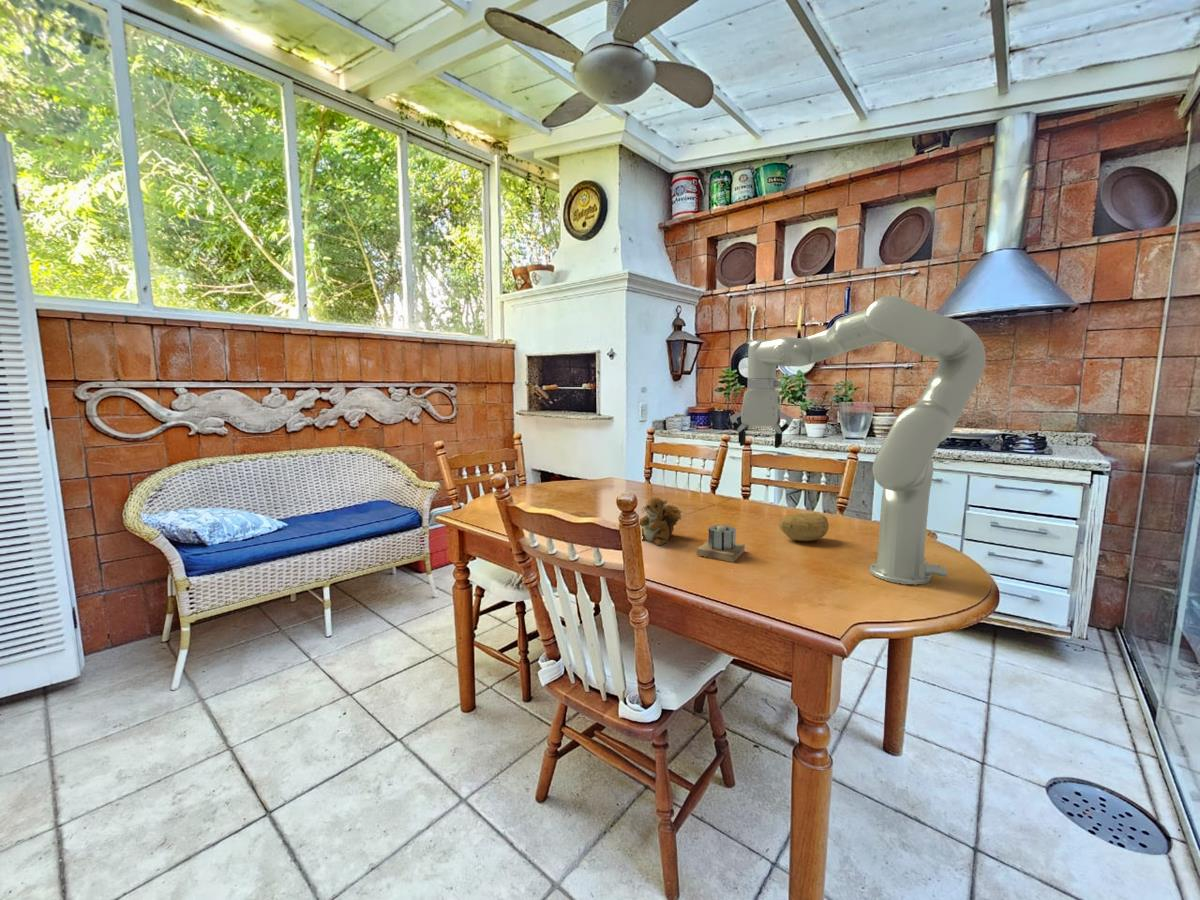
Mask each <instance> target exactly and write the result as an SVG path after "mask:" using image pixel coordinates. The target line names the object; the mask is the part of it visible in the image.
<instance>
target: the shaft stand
mask: <svg viewBox="0 0 1200 900" xmlns="http://www.w3.org/2000/svg"><path fill="white" fill-rule="evenodd" d="M725 526H726V525H725ZM725 526H722V525H721V526H717V530H720V531H726V527H725ZM745 548H746V547H745V544H744V543H740V542H739V543H737V542H735V548H734V549H733V550H728V551H723V550H722V551H720V550H714V549H711V548H710V547H709V546H708V540H707V541H704V543H702V544H701V545H700V546H698V547H697V548H696V556H697V555H698V556H697V557H700V556H704V557H703V558H706V557H709V558H708V559H712V558H714V559H713V560H717V559H720V560H719V561H723V560H725V561H724V562H728V561H731V562H730V563H734V562H735V561H736V560H738V558H739V557H740V556H741V555H742V554H743V553H744V552H745Z"/></svg>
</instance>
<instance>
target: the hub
mask: <svg viewBox="0 0 1200 900" xmlns="http://www.w3.org/2000/svg"><path fill="white" fill-rule="evenodd" d="M717 526H725V527H726V531H720V530H717ZM736 531H737V530H736V528H734V527H733V526H730V525H723V524H722V525H721V524H719V525H718V524H717V525H711V526H709V527H708V539H707V541H708V546H709V547H710V548H711V549H714V550H720V551H722V550H723V551H728V550H733V549H734V548H735V543H736V533H737V532H736Z"/></svg>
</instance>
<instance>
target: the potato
mask: <svg viewBox="0 0 1200 900" xmlns="http://www.w3.org/2000/svg"><path fill="white" fill-rule="evenodd" d="M778 527H779V529H780V531H781V532H783V533H784V535H785V536H787V538H788V539H791V540H793V541H797V542H811V541H815V540H819V539H821V538H824V537H825V535H826V534H827V533H828V531H829V527H830V525H829V521H828V518H827V516H826V515H823V514H821V513H806V512H805V513H804V512H799V513H798V512H797V513H794V514H793V513H792V514H786V515H784V516H782V518H780V519H779V522H778Z"/></svg>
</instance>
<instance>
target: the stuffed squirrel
mask: <svg viewBox="0 0 1200 900" xmlns="http://www.w3.org/2000/svg"><path fill="white" fill-rule="evenodd" d="M648 498H649V499H648V500H647V503H646V505H645V506H643V507H642V508H641V512H642V514H644V512H646V515H644V516H642V517H640V519H639V520H640V524H639V526H640V525H641V527H642V528H641V530H642V536H643V540H647V541H648V542H652V541H653V542H652V543H654V544H655V545H656V546H659V545H660V546H663V545H664V543H665V544H667V543H668V541H669V537H670V536H671V535H673V532H674V526H675V525H677V523H678V522H679V520H682V515H681V514H682V513H683V512H682V510H679V508H678V507H677V506H676V505H673V504H672V505H671V504H668V500H667V499H664V500H662V498H660V497H656V496H651V495H650V496H649V497H648ZM643 540H642V541H643ZM666 542H667V543H666ZM662 544H663V545H662Z"/></svg>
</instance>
